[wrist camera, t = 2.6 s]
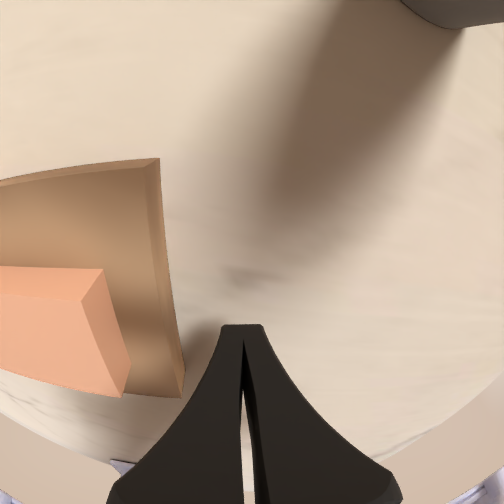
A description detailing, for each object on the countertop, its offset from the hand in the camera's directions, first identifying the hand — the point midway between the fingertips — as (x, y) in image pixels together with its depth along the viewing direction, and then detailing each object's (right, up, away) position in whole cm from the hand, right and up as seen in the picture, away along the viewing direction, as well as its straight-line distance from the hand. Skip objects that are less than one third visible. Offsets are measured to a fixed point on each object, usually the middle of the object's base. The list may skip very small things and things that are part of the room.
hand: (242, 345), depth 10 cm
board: (-11, +2, +2) cm, 11 cm away
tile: (-9, 0, 0) cm, 9 cm away
